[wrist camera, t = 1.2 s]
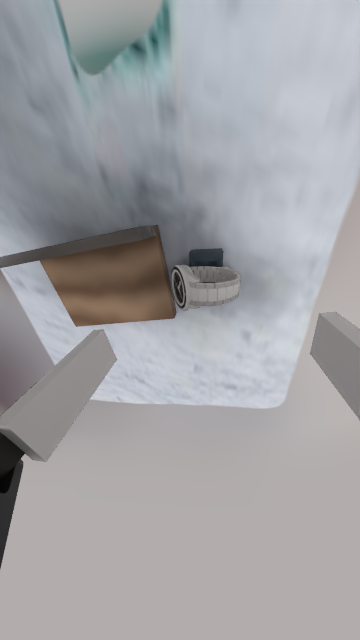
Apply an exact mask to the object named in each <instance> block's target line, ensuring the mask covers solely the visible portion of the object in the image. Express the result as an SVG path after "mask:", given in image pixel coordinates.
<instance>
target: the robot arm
mask: <svg viewBox="0 0 360 640" xmlns="http://www.w3.org/2000/svg"><path fill="white" fill-rule="evenodd" d="M310 354H311V355H312V357H313V358H314V360H315V361H316V362H317V364H318V365H319V366H320V368H321V369H322V370H323V371H324V373H325V374H326V376H327V377H328V378H329V380H330V381H331V382H332V384H333V385H334V386H335V388H336V389H337V390H338V392H339V393H340V394H341V396H342V397H343V398H344V399H345V401H346V402H347V404H348V405H349V406H350V408H351V409H352V410H353V412H354V413H355V414H356V416H357V417H358V418H359V420H360V329H359V328H358V327H356V326H355V325H354V324H352V323H351V322H349V321H348V320H347V319H345V318H344V317H342V316H341V315H340V314H338V313H337V312H328V313H319V316H318V320H317V325H316V329H315V334H314V338H313V343H312V347H311V352H310ZM116 360H117V358H116V356H115V354H114V352H113V349H112V347H111V345H110V343H109V341H108V338H107V336H106V334H105V332H104V330H94V331H93V332H91V333H90V334H89V335H88V336H87V337H86V338H85V339H84V340H83V341H82V342H81V343H80V344H78V345H77V346H76V347H75V348H74V349H73V350H72V351H71V352H70V353H69V354H68V355H66V356H65V357H64V358H63V359H62V360H61V361H60V362H59V363H58V364H57V365H56V366H54V367H53V368H52V369H51V370H50V371H49V372H48V373H47V374H46V375H45V376H44V377H43V378H42V379H40V380H39V381H38V382H37V383H35V384H34V385H33V386H32V387H31V388H30V389H29V390H28V391H27V392H26V393H25V394H24V395H22V397H21V398H19V399H18V400H17V401H16V402H15V403H14V404H13V405H11V406H10V407H9V408H8V409H7V410H6V411H5V412H4V413H3V414H2V415H1V416H0V568H1V563H2V559H3V554H4V550H5V545H6V541H7V536H8V532H9V527H10V523H11V519H12V514H13V510H14V505H15V500H16V496H17V492H18V487H19V483H20V478H21V473H22V469H23V461H22V460H21V457H22V456H23V455H24V454H26V455H28V456H29V457H30V458H31V459H32V460H36V461H44V462H46V461H47V460H48V459H49V457H50V456H51V454H52V453H53V451H54V450H55V448H56V447H57V446H58V444H59V443H60V441H61V440H62V438H63V437H64V436H65V434H66V433H67V431H68V429H69V428H70V427H71V425H72V424H73V422H74V421H75V420H76V418H77V417H78V415H79V414H80V412H81V411H82V409H83V408H84V407H85V405H86V404H87V402H88V401H89V399H90V398H91V396H92V395H93V394H94V392H95V391H96V389H97V388H98V386H99V385H100V383H101V382H102V380H103V379H104V378H105V376H106V375H107V373H108V372H109V370H110V369H111V367H112V366H113V365H114V363H115V362H116Z"/></svg>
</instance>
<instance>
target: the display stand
mask: <svg viewBox="0 0 360 640" xmlns="http://www.w3.org/2000/svg"><path fill="white" fill-rule="evenodd" d="M38 260H40V262H41V264H42V266H43V268H44V270H45V271H46V273H47V275H48V277H49V279H50V281H51V282H52V284H53V286H54V288H55V290H56V291H57V293H58V295H59V297H60V299H61V301H62V302H63V304H64V306H65V308H66V310H67V311H68V313H69V315H70V317H71V319H72V321H73V322H74V324H75V326H76V327H77V326H89V325H101V324H113V323H125V322H137V321H149V320H160V319H172V318H175V315H176V309H175V304H174V299H173V295H172V290H171V285H170V281H169V276H168V271H167V267H166V262H165V257H164V252H163V248H162V243H161V238H160V234H159V229H158V225H156V226H146V227H136V228H132V229H127V230H122V231H118V232H113V233H109V234H104V235H99V236H95V237H90V238H86V239H81V240H76V241H72V242H67V243H63V244H58V245H54V246H49V247H44V248H40V249H35V250H31V251H26V252H21V253H17V254H12V255H8V256H3V257H0V268H3V267H8V266H13V265H18V264H23V263H28V262H33V261H38Z"/></svg>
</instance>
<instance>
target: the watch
mask: <svg viewBox="0 0 360 640" xmlns="http://www.w3.org/2000/svg"><path fill="white" fill-rule="evenodd" d="M189 255H190V267H189V266H187V265H175V266H173V268H172V272H171V284H172V290H173V295H174V298H175V300H176V303H177V305H178V306H179V307H180V308H181V309H182V310H183V311H186V310H188V308H200V306H216V305H221V304H226V303H228V302H230V301H233V300H234V299H235V298H237V297H238V295H239V287H240V278H241V276H240V273H239V272H238V271H236V270H233V269H230V268H229V267H223V266H222V265H223V250H222V248H221V249H200V250H191V252H190V253H189Z"/></svg>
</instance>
